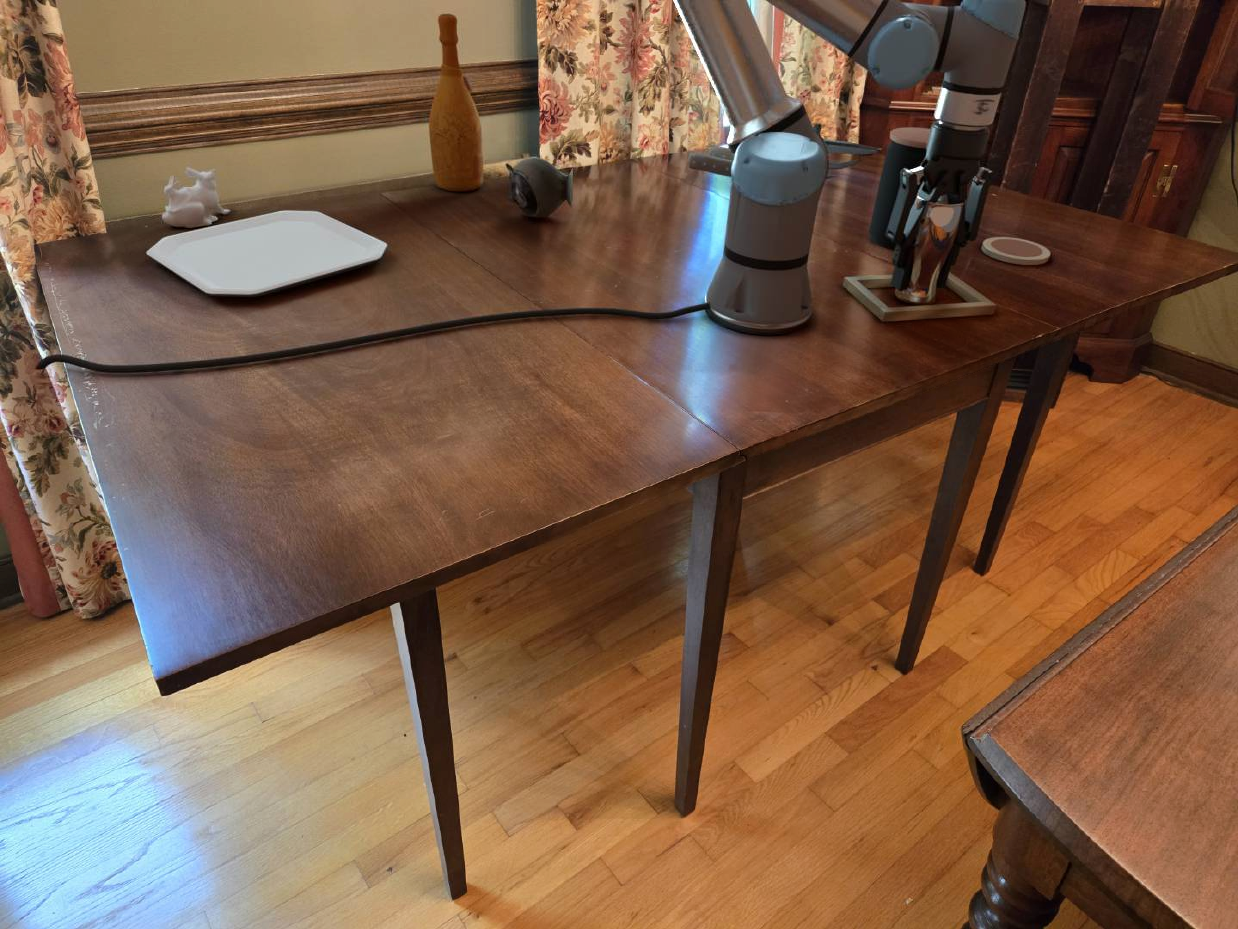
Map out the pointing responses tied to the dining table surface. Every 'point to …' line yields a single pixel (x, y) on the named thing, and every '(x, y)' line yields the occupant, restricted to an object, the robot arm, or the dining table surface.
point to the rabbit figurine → (192, 201)
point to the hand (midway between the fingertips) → (917, 286)
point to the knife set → (722, 157)
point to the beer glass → (930, 248)
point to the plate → (266, 253)
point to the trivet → (1015, 251)
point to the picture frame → (972, 308)
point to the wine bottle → (454, 120)
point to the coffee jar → (896, 177)
